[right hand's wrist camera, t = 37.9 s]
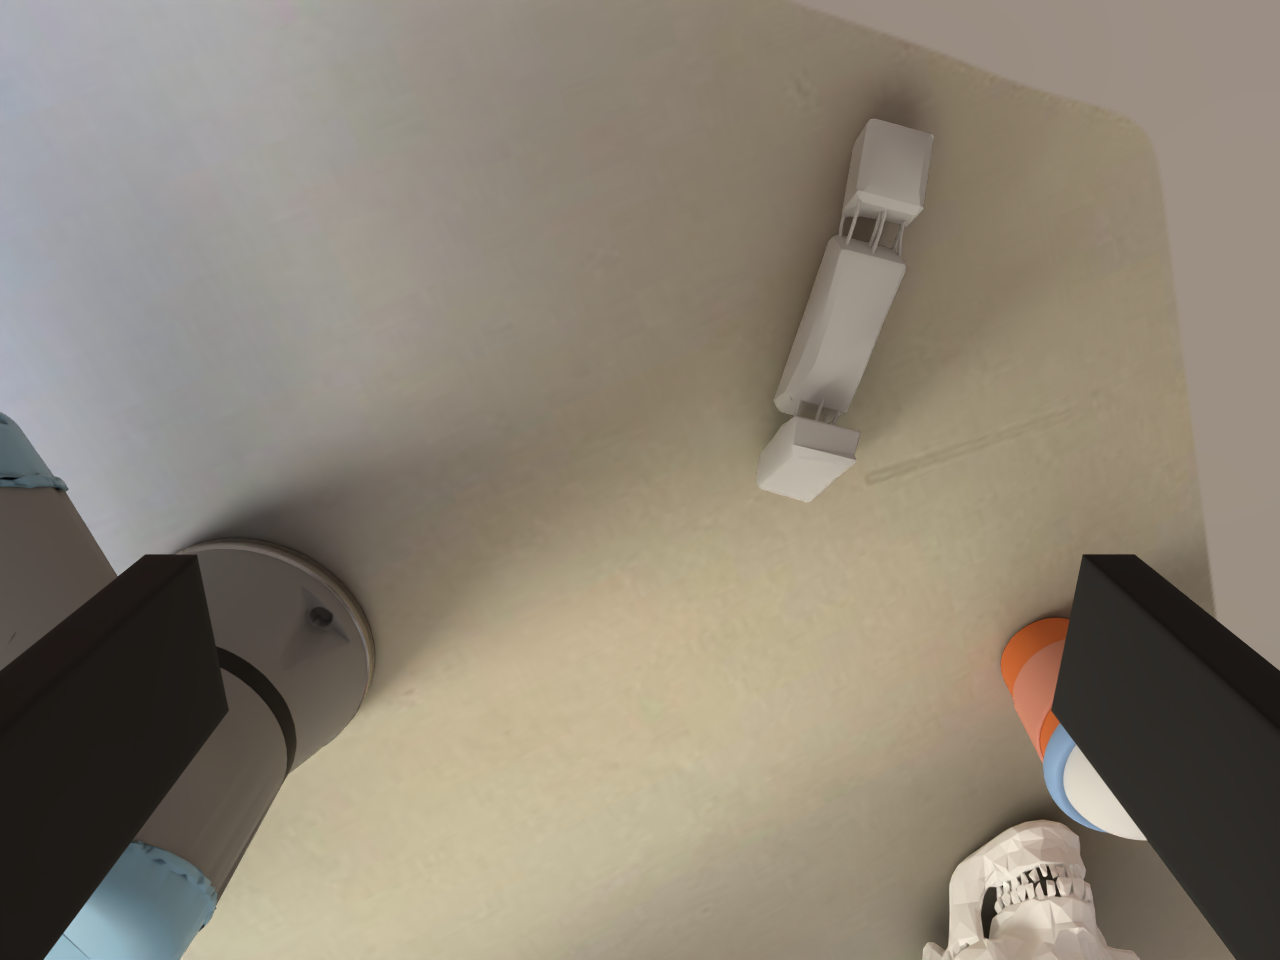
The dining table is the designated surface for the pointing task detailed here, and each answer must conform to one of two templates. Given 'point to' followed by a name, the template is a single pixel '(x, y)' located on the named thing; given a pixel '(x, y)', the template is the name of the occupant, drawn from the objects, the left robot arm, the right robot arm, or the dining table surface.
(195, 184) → the dining table surface
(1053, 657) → the cup with straw
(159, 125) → the dining table surface
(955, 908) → the skull
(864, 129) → the white jointed bar
